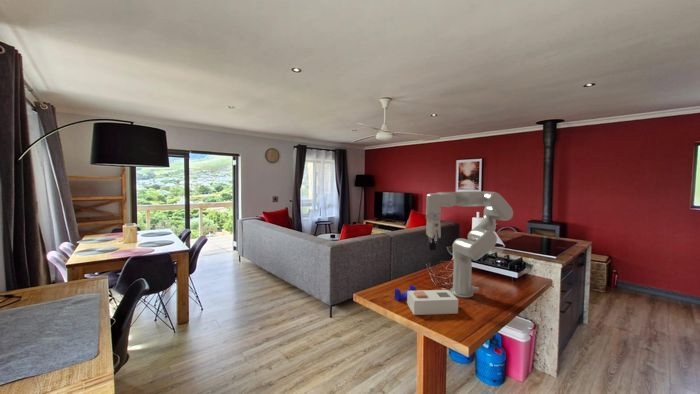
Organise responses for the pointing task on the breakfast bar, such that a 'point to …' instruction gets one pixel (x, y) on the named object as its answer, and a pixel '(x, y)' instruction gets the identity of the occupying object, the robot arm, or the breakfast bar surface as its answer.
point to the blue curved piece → (404, 295)
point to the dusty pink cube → (420, 294)
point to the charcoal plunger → (443, 294)
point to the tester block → (432, 303)
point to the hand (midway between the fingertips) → (432, 249)
